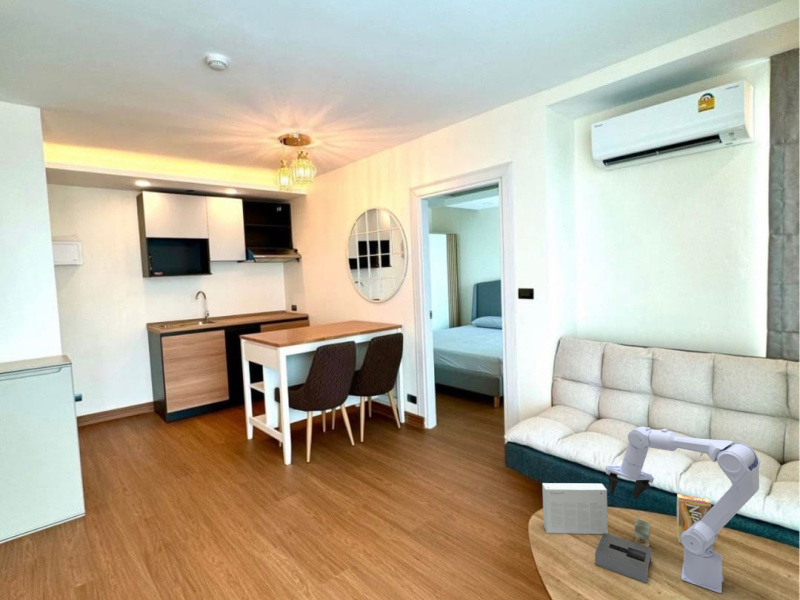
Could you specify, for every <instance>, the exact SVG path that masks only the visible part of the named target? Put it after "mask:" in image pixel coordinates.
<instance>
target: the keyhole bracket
mask: <svg viewBox="0 0 800 600" xmlns="http://www.w3.org/2000/svg"><path fill="white" fill-rule="evenodd" d="M652 551H653V548H652V547H650V546H649V547H647V546H644V545H641V544H637V543H635V541H631V540H627V539H624V538H621V537H618V536H616V535H612V534H609V533H608V534H606V533H603V534H601V538H600V540H599V542H598V544H597V547H596V549H595V552H594V565H595V566H598V567H600V566H601V567H600V568H603V569H606V570H609V571H612V572H614V573H617V574H619V575H623V576H625V577H628V578H630V579H633V580H636V581H639V582H642V583H643V584H647V583H648V569H649V564H652V560H653V556H652V555H653V552H652Z"/></svg>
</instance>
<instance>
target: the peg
mask: <svg viewBox="0 0 800 600" xmlns="http://www.w3.org/2000/svg"><path fill="white" fill-rule="evenodd" d="M634 537H635V541H634V543H637V544H641V545H644V546H647V547H650V541H649V540H650V537H651V522H649V521H645V520H642V519H638V518H636V519H635V523H634Z"/></svg>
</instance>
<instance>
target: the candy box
mask: <svg viewBox="0 0 800 600" xmlns="http://www.w3.org/2000/svg"><path fill="white" fill-rule="evenodd" d="M711 508H712V504H711V502H710V500H709V498H706V497H698V496H693V495H686V494H680V493H677V495H676V538H677V541H678V543H679V544H682V543H681V540H680V536H681V534H682V533H683V532H684V531H686V530H687V529H689V528H690V527H691V526H692V525H693V524H694V523H695V522H696V521H700V520H701V519H702V518H703V517H704V516H705V515H706V514H707V513H708V512H709V510H710V509H711Z"/></svg>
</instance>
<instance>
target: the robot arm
mask: <svg viewBox="0 0 800 600" xmlns="http://www.w3.org/2000/svg"><path fill="white" fill-rule="evenodd" d="M627 440H628V444H627V447H626V450H625V453H624V456H623V460H622V462H621V465H605V466H606V467H605V468H604V471H605V473H606V475H607V478H608V491H609V494H610V495H614V493H615V490H616V487H617V485H618V484H619V482H620V481H619V479H618V476H621V477H623V478H626V479H628V480H631V481H635V483H634V488H633V490H632V497H633V499H635V500H637V499H638V498H639V497H640V496H641V495H642V493H644V492H645V491H646V490H648V489H650V487H651V485H650V484H654V480H655V478H654V476H653V475H652V474H650V473H648V472H644V471H643V466H644V464H645V461H646V458H647V455H648V452H649V448H651V449H657V450H661V451H662V450H663V451H667V452H668V451H669V452H676V450H677V449H680V450H681V449H682V450H687V451H691V452H696V453H702V454H706V455H707V456H708V458H710V459H711V462H712V463H716V462H717V465H718V466H719V468H720V469H721V471H722V472H723V473H724V474H725V476H726V477H727V478H728V479H729V480H730V483H731V486H730V488H728V490H727V491H725V493H724V494H723V495H722V496H721V497H720V498H719V500H717V501H716V503H715V504H714V505H713V506H711V509H710V510H709V512H708V513H707V514H706V515H705V516H704V517H703V518H702V519H701V520H700V521H696V522H695V523H694V524H693V525H692V526H691V527H690V528H689V529H687V530H686V531H684V532H683V533H682V534H681V536H680V540H681V543H680V544H682V546H683V563H682V568H681V576H680V577H681V578H680V579H681V580H682V581H684V582H687V583H689V584H692V585H695V586H698V587H701V588H704V589H707V590H709V591H713V592H715V593H717V594H718V593H719V594H722V592H723V591H722V590H723V588H722V587H723V582H724V575H723V555H722V554H720V553H718V552H716V551H715V549H714V547H713V544H714V543H716V541H717V540H718V534H719V532H720V531H721V530H722V529H723V528H724V527H725V526H726V525H727V524H728V523H729V521H730V520H732V518H733V517H735V515H736V514H737V513H739V511H740V510H742V508H743V507H744V506H745V505H746V504H747V503H748V502H749V501H750V500H751V499H752V497H754V496H755V495H756V494H757V492H758V491H759V490H760V471H759V470H760V464H761V461H760V458H759V457H758V454H757V453H756V451H755V450H754V448H752V446H750V445H748V444H746V443H744V442H734V441H732V440H727V439H725V440H724V439H710V438H701V437H700V438H698V437H697V438H696V437H690V436H689V437H687V436H679V435H677V434H676V433H675V432H674V431H669V429H668V428H662V429H652V428H651V427H649V426H648V427H647V426H639V427H636V428H634V429H632V430H631V431H629V432H628V435H627Z"/></svg>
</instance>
